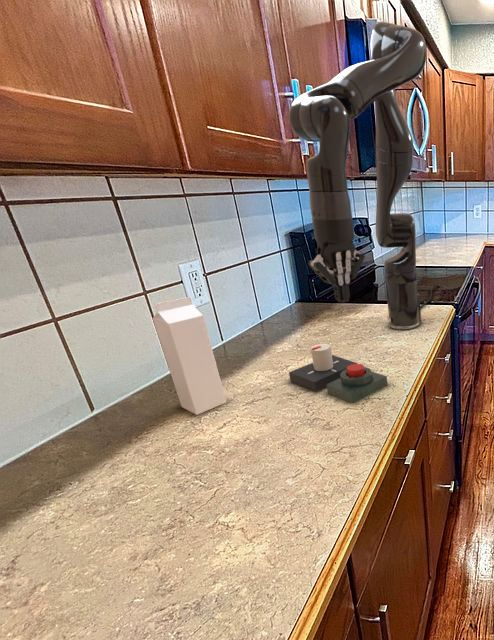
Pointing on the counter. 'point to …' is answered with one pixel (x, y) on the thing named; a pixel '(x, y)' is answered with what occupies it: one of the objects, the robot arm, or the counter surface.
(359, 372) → the button
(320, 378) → the control panel
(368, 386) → the switch block
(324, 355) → the power knob
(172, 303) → the milk
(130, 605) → the counter surface
